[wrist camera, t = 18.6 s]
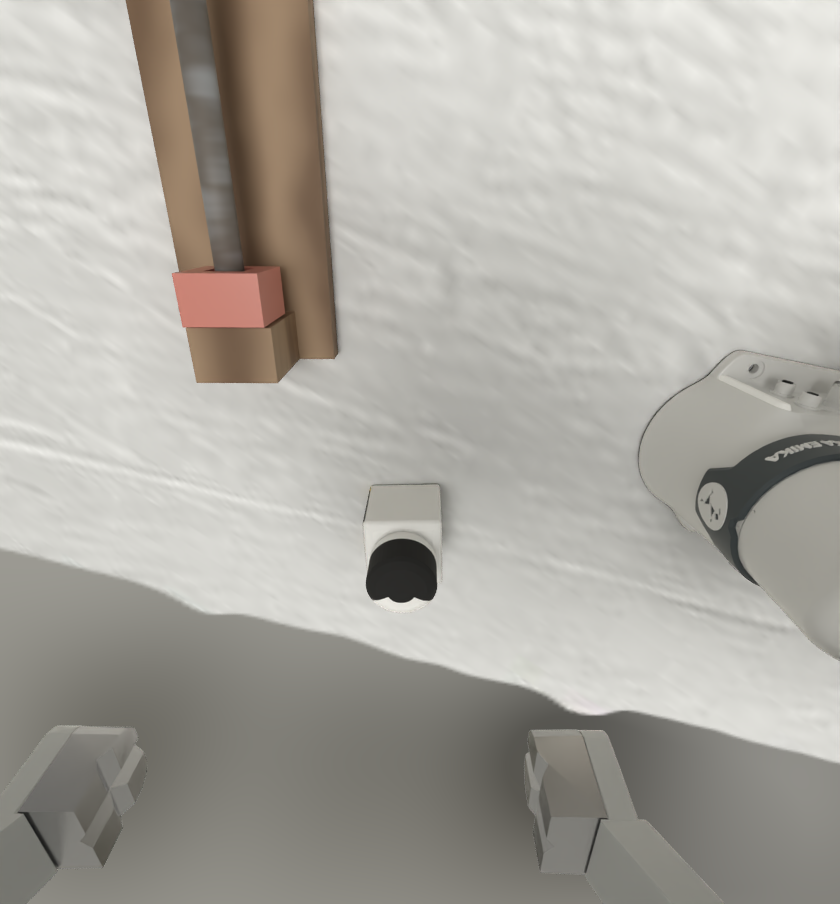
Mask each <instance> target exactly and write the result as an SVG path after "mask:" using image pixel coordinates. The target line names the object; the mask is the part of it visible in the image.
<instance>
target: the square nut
mask: <svg viewBox="0 0 840 904" xmlns="http://www.w3.org/2000/svg"><path fill="white" fill-rule="evenodd" d="M244 269H245V271H215V269H214V266H204V267H199V268H195V269H190V270H185V271H180V272H176V273H172V277H173V282H174V286H175V291H176V296H177V301H178V306H179V311H180V316H181V321H182V326H183V327H235V328H264V327H266V326H267V325H269V324H270V323H272V322H273V321H275V320H276V319H278V318H279V317H281V316H282V315H284V314H285V307H284V299H283V290H282V281H281V272H280V266H244Z"/></svg>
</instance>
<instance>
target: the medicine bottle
mask: <svg viewBox="0 0 840 904" xmlns="http://www.w3.org/2000/svg"><path fill="white" fill-rule="evenodd" d="M363 534H364V545H365V555H366V566H367V578H366V589H367V592H368V594H369V596H370V598H371V599H372V600H373V601H374V602H375V603H376V604H377V605H379V606H380V607H382V608H383V609H386V610H388V611H391V612H396V613H409V612H413V611H416V610H419V609H421V608H423V607H424V606H426V605H427V604H428V603H429V602H430V601H431V600H432V599H433V597H434V596H435V593H436V590H437V583H441V582H442V516H441V498H440V487H439V485H437V484H425V485H373V486H371V487H370V491H369V496H368V501H367V506H366V511H365V515H364V520H363Z"/></svg>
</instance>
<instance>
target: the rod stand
mask: <svg viewBox="0 0 840 904" xmlns="http://www.w3.org/2000/svg"><path fill="white" fill-rule="evenodd" d="M126 4H127V9H128V14H129V19H130V24H131V29H132V35H133V40H134V45H135V50H136V55H137V60H138V65H139V70H140V75H141V80H142V85H143V90H144V95H145V100H146V106H147V111H148V116H149V121H150V126H151V131H152V136H153V141H154V146H155V151H156V156H157V161H158V166H159V171H160V177H161V182H162V187H163V192H164V197H165V202H166V207H167V212H168V217H169V222H170V227H171V232H172V237H173V242H174V248H175V253H176V258H177V263H178V268H179V272H180V271H185V270H190V269H195V268H199V267H204V266H214V269H215V271H245V269H244V266H280V272H281V281H282V290H283V299H284V307H285V314H284V315H282V316H281V317H279V318H278V319H276V320H275V321H273V322H272V323H270V324H269V325H267V326H266V327H264V328H235V327H187V328H186V332H187V337H188V342H189V347H190V352H191V357H192V362H193V367H194V372H195V377H196V382H197V383H278V382H279V381H280V380H281V379H282V378H283V377H284V376H285V374H286V373H287V372H288V371H289V370H290V369H291V368H292V367H293V366H294V365H295V363H296V362H297V361H298V360H299V359H335V357H336V355H337V354H338V347H337V333H336V318H335V304H334V290H333V276H332V262H331V248H330V234H329V219H328V205H327V191H326V177H325V163H324V149H323V135H322V120H321V106H320V92H319V78H318V64H317V50H316V36H315V21H314V7H313V0H126Z"/></svg>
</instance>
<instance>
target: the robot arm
mask: <svg viewBox="0 0 840 904" xmlns="http://www.w3.org/2000/svg"><path fill="white" fill-rule="evenodd" d="M753 364H754V367H753V369H752V370H750V371H749V367H750V366H751V365H753ZM639 468H640V473H641V476H642V479H643V481H644V483H645V485H646V487H647V488H648V489H649V491H650V492H651V493H652V494H653V495H654V496H655V497H656V498H658V499H659V500H661V501H662V502H664V503H665V504H666V505H668V506H669V507H670V508H672V509H673V511H674V513H675V515H676V517H677V519H678V520H679V522H680V523H681V525H682V526H684V527H685V528H686V529H687V530H688V531H690V532H698V533H699V534H700V535H701V536H703V537H704V538H705V539H706V540H707V541H708V542H709V543H710V544H712V545H713V546H714V547H715V548H716V549H717V550H718V551H720V552H721V553H722V554H723V555H724V556H725V557H726V559H727V560H728V561H729V564H730V565H731V566H732V567H733V568H734V569H736V570H737V571H738V572H739V573H741V574H742V575H743V576H744V577H745V578H746V579H748V580H749V581H751V582H752V583H754V584H756V585H758V586H760V587H761V588H762V589H763V590H764V591H765V592H766V593H767V594H768V595H769V596H770V597H771V599H772V600H773V601H774V602H775V603H776V604H777V605H778V606H779V607H780V608H781V609H782V611H783V612H784V613H785V614H786V615H787V616H788V617H789V618H790V619H791V620H792V621H793V623H794V624H795V625H796V626H797V627H798V628H799V629H800V630H801V631H802V632H803V634H804V635H805V636H806V637H807V638H808V639H809V640H810V641H811V642H812V643H813V644H814V645H815V646H816V647H818V648H819V649H820V650H822V651H823V652H825V653H826V654H828V655H830V656H832V657H833V658H835V659H837V660H838V661H840V371H838V370H834V369H829V368H824V367H819V366H815V365H810V364H805V363H800V362H796V361H791V360H786V359H781V358H776V357H772V356H767V355H762V354H757V353H753V352H748V351H735V352H733V353H731V354H730V355H728V356H727V357H726V358H725V359H724V360H723V361H722V362H720V363H719V365H718V366H717V367H716V368H715V369H714V370H713V371H712V372H711V373H710V374H709V375H708V376H707V377H705V378H704V379H702V380H701V381H699V382H697V383H696V384H694V385H692V386H690V387H688V388H686V389H685V390H683V391H682V392H680V393H679V394H677V395H676V396H674V397H673V398H672V399H671V400H670V401H668V402H667V403H666V404H665V405H664V406H663V407H662V408H661V409H660V410H659V412H658V413H657V414H656V415H655V417H654V418H653V419H652V421H651V422H650V424H649V426H648V427H647V430H646V432H645V434H644V436H643V439H642V442H641V446H640V451H639ZM137 740H138V735H137V733H136V731H135V729H134V727H101V726H55V727H54V728H53V729H51V730H50V731H49V732H48V733H47V734H46V735H45V736H44V737H43V739H42V740H41V741H40V743H39V744H38V746H37V747H36V748H35V749H34V751H33V752H32V754H31V755H30V756H29V757H28V759H27V760H26V762H25V763H24V764H23V766H22V767H21V768H20V770H19V771H18V772H17V774H16V775H15V776H14V778H13V779H12V781H11V782H10V783H9V784H8V786H7V787H6V789H5V790H4V791H3V793H2V794H1V795H0V904H27V903H28V902H29V901H30V899H32V897H34V896H35V894H37V892H38V891H39V890H40V889H41V888H42V887H43V886H44V885H45V884H46V883H47V882H48V881H49V880H50V879H51V878H52V877H53V876H54V875H55V874H56V873H57V871H58V870H57V869H72V868H103V867H104V865H105V863H106V861H107V859H108V857H109V855H110V853H111V851H112V849H113V847H114V845H115V843H116V841H117V839H118V837H119V835H120V833H121V831H122V829H123V827H122V817H121V815H122V814H123V813H125V812H126V811H127V810H128V809H129V808H130V807H131V806H133V805H134V804H135V802H136V800H137V798H138V796H139V794H140V792H141V790H142V788H143V784H144V780H145V777H146V773H147V759H146V756H145V753H144V751H143V750H141V749H140V748H138V747H137V746H136V745H135V743H136V741H137ZM527 742H528V747H529V752H528V753H527V754H526V755H525V762H524V781H525V790H526V797H527V803H528V807H529V809H530V810H531V811H532V812H533V814H534V815H535V822H534V828H533V837H534V842H535V848H536V853H537V858H538V864H539V869H540V873H555V874H579V875H585V878H586V880H587V881H588V883H589V884H590V886H591V887H592V889H593V890H594V892H595V893H596V895H597V896H598V898H599V899H600V901H601V902H602V904H725V903H724V902H723V901H722V900H721V899H720V898H719V897H718V896H717V895H716V894H715V893H714V892H713V890H712V889H711V888H710V887H709V886H708V885H707V884H706V883H705V882H704V881H703V880H702V879H701V878H700V877H699V876H698V875H697V873H696V872H695V871H694V870H693V869H692V868H691V867H690V866H689V865H688V864H687V863H686V862H685V861H684V860H683V859H682V858H681V857H680V855H679V854H678V853H677V852H676V851H675V850H674V849H673V848H672V847H671V846H670V845H669V844H668V843H667V842H666V840H665V839H664V838H663V837H662V836H661V835H660V834H659V833H658V832H657V831H656V830H655V829H654V828H653V827H652V826H651V824H650V823H649V822H648V821H647V820H638V817H637V814H636V812H635V809H634V806H633V803H632V801H631V797H630V795H629V792H628V789H627V786H626V784H625V781H624V778H623V775H622V773H621V770H620V767H619V764H618V761H617V759H616V756H615V753H614V750H613V748H612V745H611V742H610V740H609V737H608V735H607V734H606V733H605V732H604V731H602V730H530V732H529V734H528V741H527Z"/></svg>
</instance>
